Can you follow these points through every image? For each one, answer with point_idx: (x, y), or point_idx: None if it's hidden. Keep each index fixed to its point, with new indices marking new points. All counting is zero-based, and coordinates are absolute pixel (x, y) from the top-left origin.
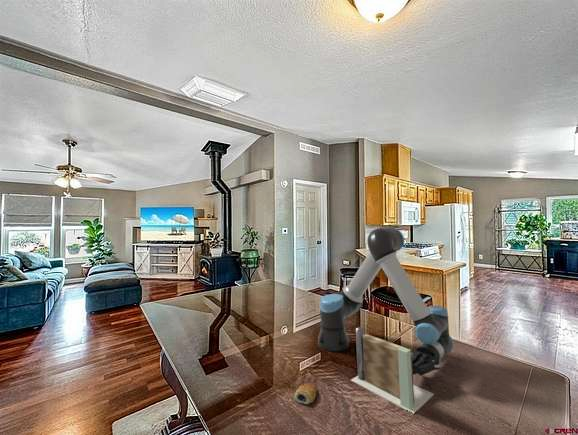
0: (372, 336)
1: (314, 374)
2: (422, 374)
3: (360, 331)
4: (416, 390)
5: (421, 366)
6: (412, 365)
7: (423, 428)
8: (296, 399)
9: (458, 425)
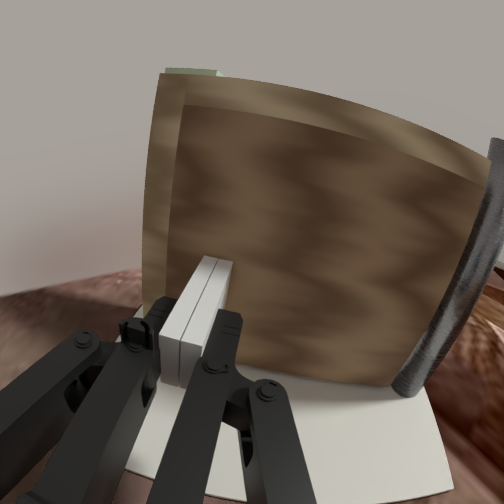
0: (444, 137)
1: (466, 325)
2: (78, 380)
3: (489, 147)
4: (143, 435)
5: (65, 363)
6: (146, 326)
7: (119, 273)
8: None
9: (23, 300)
